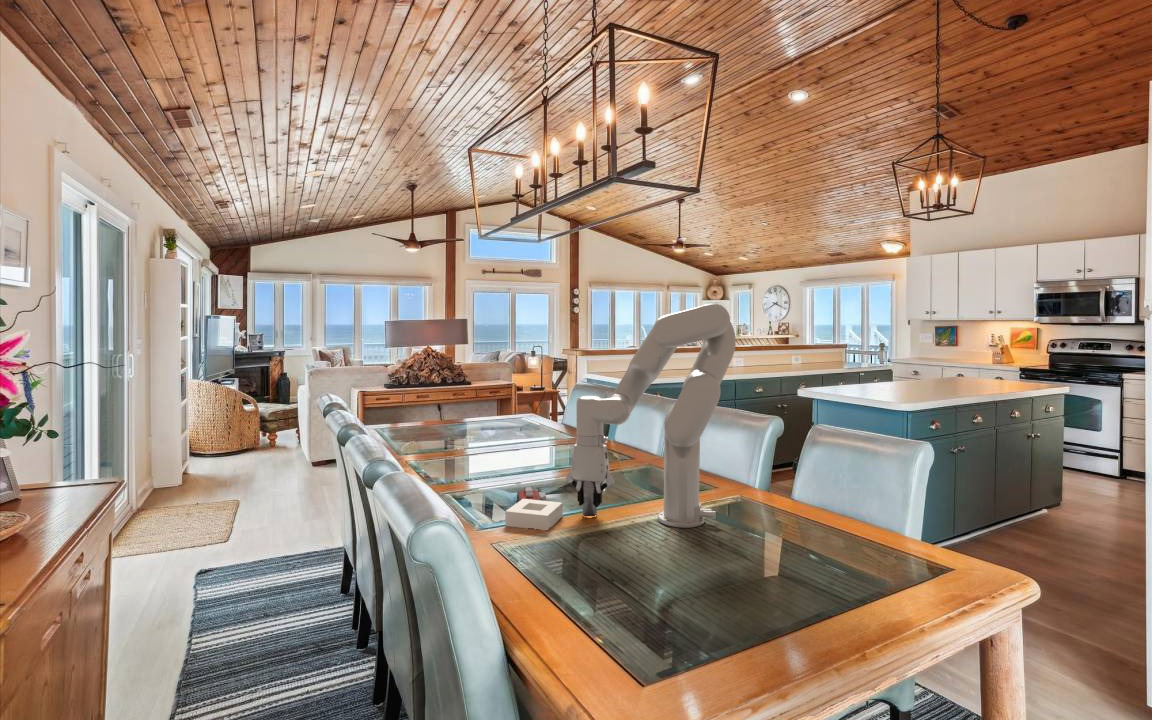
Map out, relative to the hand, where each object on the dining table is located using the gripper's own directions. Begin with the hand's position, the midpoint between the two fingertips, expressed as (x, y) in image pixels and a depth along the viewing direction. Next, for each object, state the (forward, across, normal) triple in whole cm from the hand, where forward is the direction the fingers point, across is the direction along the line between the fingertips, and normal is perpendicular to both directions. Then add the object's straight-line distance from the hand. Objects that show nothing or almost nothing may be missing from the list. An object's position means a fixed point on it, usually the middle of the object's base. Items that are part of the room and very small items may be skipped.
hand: (589, 504), depth 168 cm
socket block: (+3, +13, +9) cm, 16 cm away
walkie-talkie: (+4, +21, -8) cm, 23 cm away
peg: (+3, 0, 0) cm, 3 cm away
